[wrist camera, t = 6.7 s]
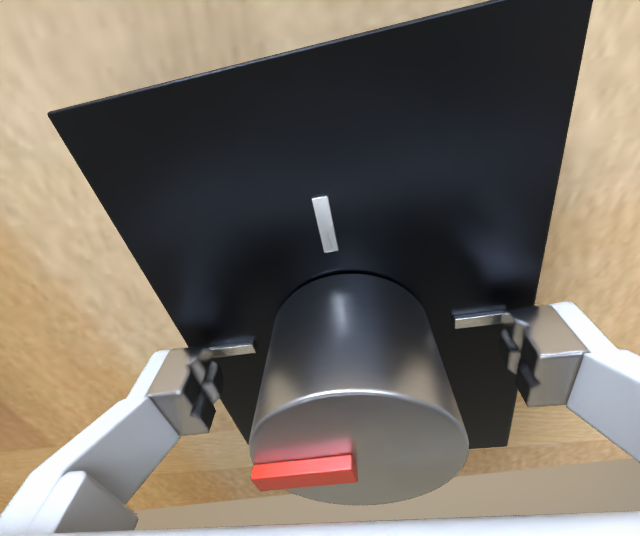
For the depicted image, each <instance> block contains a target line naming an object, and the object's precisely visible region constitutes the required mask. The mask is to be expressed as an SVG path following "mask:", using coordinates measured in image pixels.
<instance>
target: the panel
mask: <svg viewBox="0 0 640 536" xmlns="http://www.w3.org/2000/svg"><path fill="white" fill-rule="evenodd" d="M592 3H593V0H490V1H486V2H482V3H478V4H474V5H470V6H466V7H462V8H458V9H454V10H450V11H446V12H442V13H438V14H434V15H430V16H427V17H423V18H419V19H415V20H411V21H407V22H403V23H399V24H395V25H391V26H387V27H383V28H379V29H375V30H371V31H367V32H363V33H359V34H355V35H351V36H347V37H343V38H339V39H335V40H331V41H327V42H324V43H320V44H316V45H312V46H308V47H304V48H300V49H296V50H292V51H288V52H284V53H280V54H276V55H272V56H268V57H264V58H260V59H256V60H252V61H248V62H244V63H240V64H236V65H232V66H228V67H225V68H221V69H217V70H213V71H209V72H205V73H201V74H197V75H193V76H189V77H185V78H181V79H177V80H173V81H169V82H165V83H161V84H157V85H153V86H149V87H145V88H141V89H137V90H133V91H129V92H126V93H122V94H118V95H114V96H110V97H106V98H102V99H98V100H94V101H90V102H86V103H82V104H78V105H74V106H70V107H66V108H62V109H58V110H54V111H50V112H49V113H48V117H49V118H50V120H51V122H52V123H53V125H54V127H55V128H56V130H57V132H58V133H59V135H60V136H61V138H62V140H63V141H64V143H65V145H66V146H67V148H68V150H69V151H70V153H71V155H72V156H73V158H74V159H75V161H76V163H77V164H78V166H79V168H80V169H81V171H82V173H83V174H84V176H85V178H86V179H87V181H88V182H89V184H90V186H91V187H92V189H93V191H94V192H95V194H96V196H97V197H98V199H99V201H100V202H101V204H102V205H103V207H104V209H105V210H106V212H107V214H108V215H109V217H110V219H111V220H112V222H113V224H114V225H115V227H116V228H117V230H118V232H119V233H120V235H121V237H122V238H123V240H124V242H125V243H126V245H127V247H128V248H129V250H130V251H131V253H132V255H133V256H134V258H135V260H136V261H137V263H138V265H139V266H140V268H141V270H142V271H143V273H144V274H145V276H146V278H147V279H148V281H149V283H150V284H151V286H152V288H153V289H154V291H155V293H156V294H157V296H158V297H159V299H160V301H161V302H162V304H163V306H164V307H165V309H166V311H167V312H168V314H169V316H170V317H171V319H172V320H173V322H174V324H175V325H176V327H177V329H178V330H179V332H180V334H181V335H182V337H183V338H184V340H185V342H186V343H187V345H188V347H200V346H206V347H209V349H210V350H211V352H212V353H213V356H212V359H211V360H212V361H213V362H215V363H217V364H218V365H219V366H220V368H221V370H222V373H223V390H222V393H221V396H220V399H221V401H222V403H223V404H224V406H225V407H226V409H227V411H228V412H229V414H230V416H231V417H232V419H233V421H234V422H235V424H236V426H237V427H238V429H239V430H240V432H241V434H242V435H243V437H244V439H245V440H246V442H247V444H248V445H249V439H250V433H251V429H252V424H253V420H254V415H255V410H256V406H257V401H258V396H259V392H260V387H261V382H262V378H263V373H264V369H265V364H266V359H267V355H268V350H269V345H270V341H271V336H272V331H273V327H274V322H275V319H276V316H277V313H278V311H279V310H280V308H281V306H282V305H283V304H284V302H285V301H286V300H287V299H288V298H289V297H290V296H291V295H292V294H293V293H294V292H296V291H297V290H298V289H300V288H301V287H303V286H305V285H307V284H308V283H310V282H313V281H315V280H318V279H320V278H324V277H328V276H332V275H339V274H366V275H372V276H377V277H380V278H384V279H387V280H389V281H391V282H394V283H396V284H398V285H399V286H401V287H403V288H404V289H406V290H407V291H408V292H409V293H411V294H412V295H413V296H414V297H415V298H416V299H417V300H418V301H419V303H420V304H421V306H422V307H423V309H424V311H425V313H426V316H427V318H428V321H429V324H430V327H431V330H432V333H433V336H434V339H435V342H436V345H437V348H438V351H439V353H440V356H441V359H442V362H443V365H444V368H445V371H446V374H447V377H448V380H449V383H450V386H451V389H452V391H453V394H454V397H455V400H456V403H457V406H458V409H459V412H460V415H461V418H462V421H463V424H464V427H465V429H466V432H467V435H468V440H469V449H476V448H490V447H505V446H507V443H508V438H509V433H510V428H511V423H512V417H513V412H514V407H515V402H516V397H517V392H518V388H517V386H516V385H515V381H516V376H517V375H516V374H514V373H513V372H511V371H510V370H508V369H507V368H506V366H505V364H504V362H503V360H502V357H501V354H500V349H499V343H498V342H499V333H500V332H501V331H502V330H503V329H504V328H505V327H504V325H503V324H502V322H501V317H502V313H503V311H504V310H506V309H514V308H522V307H529V306H534V303H535V298H536V293H537V288H538V283H539V277H540V272H541V267H542V262H543V257H544V252H545V246H546V241H547V236H548V231H549V226H550V220H551V215H552V210H553V205H554V200H555V194H556V189H557V184H558V179H559V174H560V169H561V163H562V158H563V153H564V148H565V143H566V137H567V132H568V127H569V122H570V117H571V112H572V106H573V101H574V96H575V91H576V86H577V80H578V75H579V70H580V65H581V60H582V54H583V49H584V44H585V39H586V34H587V29H588V23H589V18H590V13H591V8H592Z"/></svg>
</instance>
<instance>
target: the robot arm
mask: <svg viewBox="0 0 640 536" xmlns="http://www.w3.org/2000/svg"><path fill="white" fill-rule="evenodd" d="M501 322H502V324H503V325H504V327H505V328H504V329H503V330H502V331H501V332H500V333H499V342H498V343H499V349H500V354H501V357H502V360H503V362H504V364H505V366H506V368H507V369H508V370H510V371H511V372H513V373H514V374H516V375H517V376H516V381H515V385H516V386H517V388H518V390H519V392H520V394H521V396H522V397H523V399H524V401H525V403H526V405H527V407H540V406H558V405H567V406H566V407H567V408H568V409H570V410H571V411H572V412H574V413H575V414H576V415H577V416H579V417H580V418H581V419H583V420H584V421H585V422H587V423H588V424H589V425H591V426H592V427H593V428H595V429H596V430H597V431H598V432H600V433H601V434H602V435H604V436H605V437H606V438H608V439H609V440H610V441H612V442H613V443H614V444H616V445H617V446H618V447H620V448H621V449H622V450H623V451H625V452H626V453H627V454H629V455H630V456H631V457H633V458H634V459H635V460H637V461H638V462H639V463H640V356H639V355H637V354H635V353H632V352H630V351H628V350H618V349H617V348H616V347H615V346H614V345H613V344H612V343H611V342H610V341H609V340H608V339H607V338H606V336H605V335H604V334H603V333H602V332H601V331H600V330H599V329H598V328H597V327H596V326H595V325H594V324H593V323H592V322H591V321H590V320H589V319H588V317H587V316H586V315H585V314H584V313H583V312H582V311H581V310H580V309H579V308H578V307H577V306H576V305H575V304H574V303H572V302H570V301H567V302H559V303H552V304H547V305H537V306H529V307H522V308H514V309H506V310H504V311H503V313H502V317H501ZM212 356H213V353H212V352H211V350H210V349H209V347H206V346H200V347H189V348H178V349H172V350H161V351H157V352H155V353H154V354H153V355H152V356H151V358H150V360H149V361H148V363H147V365H146V366H145V368H144V370H143V371H142V373H141V375H140V376H139V378H138V380H137V381H136V383H135V385H134V386H133V388H132V390H131V391H130V393H129V395H128V397H127V398H126V399H124V400H120V401H119V402H118V403H116V404H115V405H114V406H113V407H111V408H110V409H109V410H108V411H106V412H105V413H104V414H103V415H101V416H100V417H99V418H98V419H97V420H95V421H94V422H93V423H92V424H90V425H89V426H88V427H87V428H85V429H84V430H83V431H82V432H80V433H79V434H78V435H77V436H75V437H74V438H73V439H72V440H71V441H69V442H68V443H67V444H66V445H64V446H63V447H62V448H61V449H59V450H58V451H57V452H56V453H54V454H53V455H52V456H51V457H49V458H48V459H47V460H46V461H45V462H43V463H42V464H41V465H40V466H38V467H37V468H36V469H35V470H33V471H32V472H31V473H30V475H29V476H28V477H27V479H26V480H25V482H24V483H23V484H22V486H21V487H20V489H19V490H18V491H17V493H16V494H15V496H14V497H13V498H12V500H11V501H10V503H9V504H8V505H7V507H6V508H5V510H4V511H3V512H2V514H1V515H0V536H640V511H622V512H597V513H570V514H544V515H518V516H517V515H516V516H491V517H466V518H438V519H412V520H387V521H360V522H334V523H307V524H281V525H255V526H230V527H205V528H180V529H154V530H134V529H135V527H136V524H137V522H138V517H137V514H136V513H134V512H133V511H132V510H131V509H130V508H129V507H127V506H126V505H125V504H126V503H127V502H128V501H129V500H130V498H131V497H132V496H133V495H134V493H135V492H136V491H137V490H138V489H139V487H140V486H141V485H142V484H143V483H144V481H145V480H146V479H147V478H148V477H149V475H150V474H151V473H152V472H153V471H154V469H155V468H156V467H157V466H158V464H159V463H160V462H161V461H162V460H163V458H164V457H165V456H166V455H167V454H168V452H169V451H170V450H171V449H172V448H173V446H174V445H175V444H176V443H177V441H178V440H179V439H180V436H186V435H195V434H204V433H209V430H210V427H211V424H212V421H213V418H214V415H215V412H216V410H215V408H214V405H213V404H214V403H215V402H216V401H217V400H218V399H219V398H220V396H221V393H222V390H223V373H222V370H221V368H220V366H219V365H218V364H217V363H215V362H213V361H212V360H211V359H212Z"/></svg>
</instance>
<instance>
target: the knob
mask: <svg viewBox="0 0 640 536" xmlns="http://www.w3.org/2000/svg"><path fill="white" fill-rule="evenodd" d="M249 450H250V456H251V458H252V461H253V463H254V465H253V469H252V474H251V481H252V482H253V483H254V484H255V486H256V487H257V488H258V489H259V490H260V491H268V490H280V489H284V490H286V491H288V492H291V493H293V494H296V495H299V496H302V497H305V498H309V499H313V500H316V501H322V502H327V503H334V504H344V505H376V504H387V503H393V502H398V501H403V500H407V499H411V498H414V497H418V496H421V495H423V494H426V493H429V492H431V491H433V490H435V489H437V488H439V487H441V486H442V485H444V484H445V483H447V482H449V481H450V480H451V479H452V478H454V477H455V476H456V475H457V474H458V473H459V471H460V470H461V469H462V468H463V466H464V464H465V463H466V460H467V457H468V452H469V440H468V435H467V432H466V429H465V427H464V424H463V421H462V418H461V415H460V412H459V409H458V406H457V403H456V400H455V397H454V394H453V391H452V389H451V386H450V383H449V380H448V377H447V374H446V371H445V368H444V365H443V362H442V359H441V356H440V353H439V351H438V348H437V345H436V342H435V339H434V336H433V333H432V330H431V327H430V324H429V321H428V318H427V316H426V313H425V311H424V309H423V307H422V306H421V304H420V303H419V301H418V300H417V299H416V298H415V297H414V296H413V295H412V294H411V293H409V292H408V291H407V290H406V289H404V288H403V287H401V286H399V285H398V284H396V283H394V282H391V281H389V280H387V279H384V278H380V277H377V276H372V275H366V274H339V275H332V276H328V277H324V278H320V279H318V280H315V281H313V282H310V283H308V284H307V285H305V286H303V287H301V288H300V289H298V290H297V291H296V292H294V293H293V294H292V295H291V296H290V297H289V298H288V299H287V300H286V301H285V302H284V304H283V305H282V306H281V308H280V310H279V311H278V313H277V316H276V319H275V322H274V327H273V331H272V336H271V341H270V345H269V350H268V355H267V359H266V364H265V369H264V373H263V378H262V382H261V387H260V392H259V396H258V401H257V406H256V410H255V415H254V420H253V424H252V429H251V433H250V439H249Z"/></svg>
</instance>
